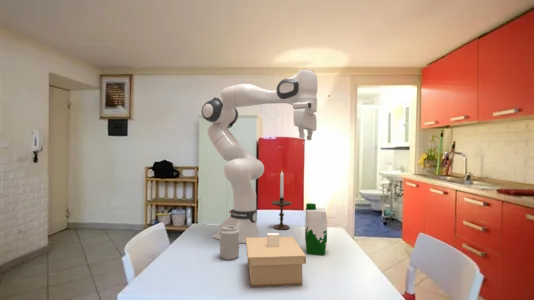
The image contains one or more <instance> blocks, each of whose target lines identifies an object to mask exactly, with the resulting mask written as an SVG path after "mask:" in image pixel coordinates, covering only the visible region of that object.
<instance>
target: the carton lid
mask: <svg viewBox="0 0 534 300" xmlns="http://www.w3.org/2000/svg"><path fill="white" fill-rule="evenodd" d="M245 247H246V258H247V266H248V267H249V266H258V265H286V264H302V265H306V263H307V254H305V251H304V250H303V249H302V248H301V246H300V245H299V244H298V242H297V241H296V238H294V236H280V234H279V232H276V233H275V232H271V233H270V232H268V233H266V236H264V237H262V236H261V237H260V236H259V237H256V238H246V243H245Z"/></svg>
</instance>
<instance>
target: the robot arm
mask: <svg viewBox="0 0 534 300" xmlns="http://www.w3.org/2000/svg"><path fill="white" fill-rule="evenodd" d="M317 94H318V75H317V74H316V73H315V72H314V71H313V70H310V69H300V70H298V71H297V73H296V74H294V75H292V76H291V77H288V78H284V79H282V80H281V81H279V82H278V84H277V86H276V90H270V89H269V90H268V89H264V88H262V87H259V86H257V85H254V84H249V83H240V84H239V83H238V84H234V85H230V86H227V87H225V88H223V89H222V91H221V93H220V96H219V97H213V98H212V99H210V100H209V101H206V102H205V103H204V104H203V106H202V107H201V116H202V118H203V119H204V120H205V121H207V122H209V123H212V124H211V125H210V126H209V127H208V129H207V135H208V138H209V140H210V142H211V143H212V145H213V146H214V149H216V151H217V152H218V153H219V155H220V156H221V158H222V159H223V160H225V161H226V163H225V165H224V167H223V173H224V175H225V178H226V179H227V180H228V181H229V183H230V185H231V189H232V194H233V197H232V198H233V200H232V201H233V209H231V210H229V211H228V214H230V215H229V217H228V218H227V219H225V220H224V221H223V222H222V223H221V224H220V225H219V228H218V232H216V233H215V234H214V235H213V238H214V239H216V240H220V231H221V230H222V227H223V226H227V225H234V226H237V227H238V228H237V229H238V230H239V244H246V238H256V237H260V236H259V232H258V225H257V221H258V209H257V193H256V190H254V187H253V185H252V181H255V180H257V179H260V177H261V176H263V174H264V173H265V166H264V164H263V162H262V161H261V160H259V159H258V158H256V157H254V156H253V155H252V154H251V153H250V152H249V151H248V150H247V149H245V147H243V146H242V145H241V144H240V143H239V141H238V139H236V137H235V136H234V135H233V133H232V132H231V131H230V128H232V127H233V126H234V124H235V123H236V122H237V121H238V118H239V111H238V109H237V108H243V107H251V106H257V105H260V106H261V105H266V104H289V105H291V106H292V109H293V124H294V126H295V127H297V128H298V134H299V135H298V136H299V137H298V138H299V139H305V136H306V135H305V131H306V132H307V136H306V140H307V141H312V139H313V138H312V136H313V133H314V132H315V131H317V129H318V128H317V115H316V114H315V113H317V112H318V98H317Z"/></svg>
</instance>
